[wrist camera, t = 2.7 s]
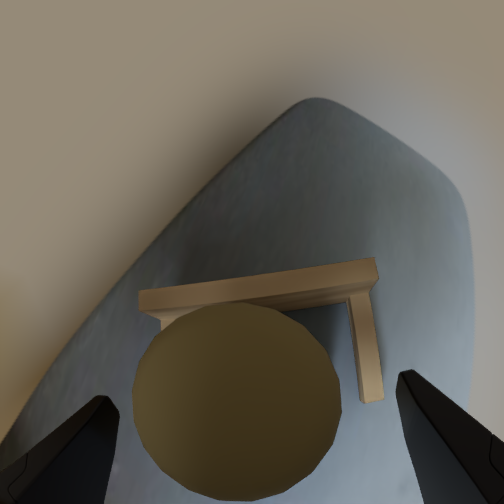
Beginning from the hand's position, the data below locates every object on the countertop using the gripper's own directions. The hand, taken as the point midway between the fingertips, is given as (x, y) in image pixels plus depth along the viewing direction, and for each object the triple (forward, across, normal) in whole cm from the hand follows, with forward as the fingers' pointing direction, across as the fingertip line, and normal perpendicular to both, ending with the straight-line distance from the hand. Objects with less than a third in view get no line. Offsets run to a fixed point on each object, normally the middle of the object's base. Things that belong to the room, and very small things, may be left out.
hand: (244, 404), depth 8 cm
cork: (+6, 0, +6) cm, 8 cm away
